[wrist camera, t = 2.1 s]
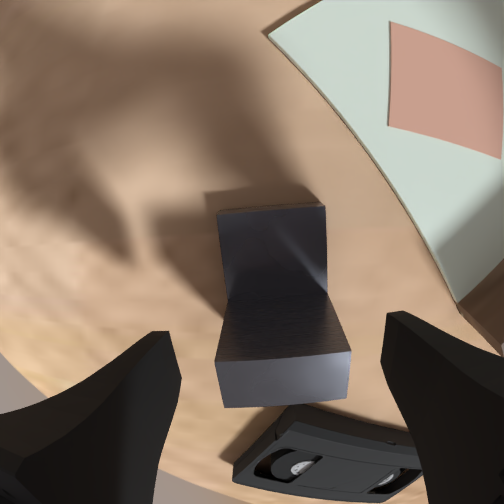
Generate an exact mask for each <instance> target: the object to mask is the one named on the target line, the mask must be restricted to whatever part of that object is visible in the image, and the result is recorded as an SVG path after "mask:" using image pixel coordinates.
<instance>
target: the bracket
mask: <svg viewBox="0 0 504 504" xmlns="http://www.w3.org/2000/svg"><path fill="white" fill-rule="evenodd" d="M217 223H218V231H219V239H220V247H221V254H222V262H223V269H224V277H225V284H226V291H227V298H228V303H227V307H226V312H225V316H224V321H223V325H222V330H221V334H220V339H219V343H218V348H217V352H216V357H215V367H216V372H217V377H218V381H219V386H220V390H221V395H222V399H223V404H224V408H243V407H266V406H282V405H294V404H304V403H314V402H323V401H331V400H338V399H345V398H347V390H348V381H349V372H350V362H351V349H350V346H349V344H348V341H347V339H346V336H345V334H344V331H343V329H342V326H341V324H340V322H339V319H338V317H337V314H336V312H335V310H334V307H333V305H332V303H331V300H330V298H329V296H328V293H327V236H326V210H325V205H323V204H322V203H321V202H312V203H298V204H285V205H272V206H260V207H249V208H238V209H228V210H220V211H219V212H218V214H217Z"/></svg>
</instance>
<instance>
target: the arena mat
mask: <svg viewBox="0 0 504 504" xmlns="http://www.w3.org/2000/svg"><path fill="white" fill-rule="evenodd" d="M268 38H269V39H270V40H271V41H272V42H273V43H274V44H275V45H276V46H277V47H278V48H279V49H280V50H281V51H282V52H283V53H284V54H285V55H286V56H287V57H288V58H289V59H290V61H291V62H292V63H293V64H294V65H295V66H296V67H297V68H298V69H299V70H300V71H301V72H302V73H303V74H304V75H305V77H306V78H307V79H308V80H309V81H310V82H311V83H312V84H313V85H314V87H315V88H316V89H317V90H318V91H319V92H320V94H321V95H322V96H323V97H324V98H325V99H326V101H327V102H328V103H329V104H330V105H331V107H332V108H333V109H334V110H335V111H336V113H337V114H338V115H339V116H340V118H341V119H342V120H343V121H344V123H345V124H346V125H347V126H348V128H349V129H350V130H351V132H352V133H353V134H354V135H355V137H356V138H357V139H358V141H359V142H360V143H361V145H362V146H363V147H364V149H365V150H366V152H367V153H368V154H369V156H370V157H371V158H372V160H373V161H374V163H375V164H376V166H377V167H378V168H379V170H380V171H381V173H382V174H383V176H384V177H385V179H386V180H387V182H388V183H389V185H390V186H391V188H392V189H393V191H394V192H395V194H396V195H397V197H398V199H399V200H400V202H401V203H402V205H403V206H404V208H405V210H406V211H407V213H408V215H409V216H410V218H411V220H412V221H413V223H414V225H415V226H416V228H417V230H418V232H419V233H420V235H421V237H422V239H423V240H424V242H425V244H426V246H427V248H428V249H429V251H430V253H431V255H432V257H433V259H434V261H435V262H436V264H437V266H438V268H439V270H440V272H441V274H442V276H443V278H444V280H445V282H446V284H447V286H448V288H449V290H450V293H451V295H452V297H453V299H454V300H455V301H456V302H457V303H458V302H459V301H461V300H462V299H463V298H464V297H465V296H466V295H467V294H468V293H469V292H470V291H471V290H473V289H474V288H475V287H476V286H477V285H478V284H479V283H480V282H481V281H482V280H483V279H484V278H485V277H486V276H487V275H488V274H489V273H490V272H491V271H492V270H493V269H494V268H495V267H496V266H497V265H498V264H499V263H500V262H501V261H502V260H503V259H504V0H322V1H321V2H319V3H317V4H316V5H314V6H312V7H310V8H309V9H307V10H305V11H304V12H302V13H300V14H299V15H297V16H296V17H294V18H292V19H291V20H289V21H288V22H286V23H285V24H283V25H282V26H280V27H279V28H277V29H276V30H274V31H273V32H271V33H270V34H268ZM462 316H463V314H462Z"/></svg>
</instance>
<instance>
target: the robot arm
mask: <svg viewBox="0 0 504 504" xmlns="http://www.w3.org/2000/svg"><path fill="white" fill-rule="evenodd" d="M380 362H381V366H382V369H383V372H384V375H385V378H386V381H387V384H388V387H389V389H390V391H391V393H392V395H393V397H394V399H395V402H396V404H397V406H398V408H399V410H400V412H401V414H402V416H403V418H404V420H405V423H406V425H407V427H408V429H409V431H410V433H411V436H412V438H413V441H414V444H415V447H416V450H417V454H418V457H419V461H420V464H421V468H422V472H423V477H424V481H425V485H426V491H427V496H428V502H429V504H504V357H501V356H498V355H495V354H493V353H490V352H487V351H484V350H482V349H479V348H477V347H475V346H472V345H470V344H468V343H466V342H464V341H462V340H460V339H458V338H456V337H454V336H452V335H450V334H448V333H446V332H444V331H442V330H440V329H438V328H436V327H435V326H433V325H431V324H429V323H427V322H425V321H424V320H422V319H420V318H418V317H416V316H414V315H412V314H410V313H408V312H405V311H397V312H390V313H387V316H386V324H385V332H384V340H383V347H382V354H381V360H380ZM181 379H182V377H181V374H180V370H179V367H178V363H177V360H176V356H175V352H174V349H173V345H172V341H171V337H170V333H169V331H152V332H150V333H149V334H147V335H146V336H144V337H143V338H141V339H140V340H139V341H137V342H136V343H135V344H134V345H132V346H131V347H130V348H128V349H127V350H126V351H124V352H123V353H122V354H120V355H119V356H118V357H117V358H115V359H114V360H113V361H111V362H110V363H108V364H107V365H105V366H104V367H103V368H101V369H100V370H98V371H97V372H95V373H94V374H92V375H91V376H89V377H88V378H86V379H85V380H83V381H81V382H80V383H78V384H76V385H74V386H73V387H71V388H69V389H67V390H65V391H63V392H61V393H59V394H57V395H55V396H52V397H50V398H48V399H46V400H44V401H41V402H39V403H36V404H34V405H31V406H28V407H25V408H22V409H18V410H15V411H11V412H8V413H4V414H0V504H152V502H153V495H154V488H155V481H156V475H157V470H158V464H159V460H160V456H161V453H162V449H163V446H164V443H165V440H166V437H167V434H168V431H169V428H170V425H171V422H172V419H173V415H174V412H175V409H176V406H177V403H178V398H179V392H180V386H181Z"/></svg>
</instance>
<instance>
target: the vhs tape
mask: <svg viewBox="0 0 504 504" xmlns="http://www.w3.org/2000/svg"><path fill="white" fill-rule="evenodd" d="M269 454H271V472H272V474H273V475H274V476H270V475H266V474H262V473H261V472H260V471H256V470H254V469H255V467H256V465H257V464H258V463H259V462H260V461H261V460H262V459H263V458H265V457H266V456H268V455H269ZM406 468H408V469H409V470H408V471H407V472H406V473H404V474H403V475H402V476H400V477H399V478H398V479H396V478H397V477H398V476H399V475H400V474H401V473H402V472H403V471H404V470H405V469H406ZM422 475H423V472H422V468H421V464H420V461H419V457H418V454H417V450H416V447H415V444H414V441H413V438H412V436H411V433H410V432H405V431H400V430H396V429H391V428H387V427H383V426H378V425H374V424H370V423H366V422H363V421H359V420H355V419H351V418H348V417H344V416H341V415H337V414H334V413H331V412H327V411H324V410H321V409H318V408H314V407H311V406H308V405H305V404H294V405H289V406H288V407H287V408H286V409H285V411H284V412H283V413H282V414H281V415H280V416H279V417H278V418H277V420H276V421H275V422H274V423H273V424H272V425H271V426H270V427H269V428H268V429H267V430H266V431H265V432H264V433H263V435H262V436H261V437H260V438H259V439H258V440H257V441H256V442H255V443H254V444H253V445H252V446H251V447H250V448H249V449H248V450H247V451H246V452H245V453H244V454H243V455H242V456H241V457H240V458H239V459H238V460H237V461H235V462H234V465H233V476H232V481H233V482H234V483H237V484H241V485H245V486H249V487H254V488H258V489H263V490H267V491H272V492H278V493H283V494H289V495H295V496H301V497H308V498H316V499H324V500H334V501H346V502H363V503H382V502H385V501H387V500H388V499H390V498H391V497H393V496H394V495H396V494H397V493H399V492H400V491H402V490H403V489H404V488H406V487H407V486H409V485H410V484H411V483H413V482H414V481H416V480H417V479H418V478H420V477H421V476H422ZM395 479H396V480H395ZM393 480H395V481H394V482H392V483H391V484H389V485H388V486H387V487H385V488H384V489H382V490H379V491H370V490H371V489H373V488H375V487H380V486H383V485H385V484H388V483H390V482H391V481H393Z"/></svg>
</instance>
